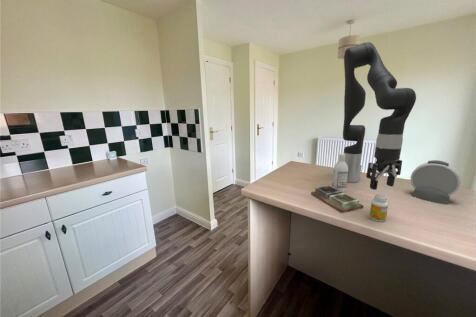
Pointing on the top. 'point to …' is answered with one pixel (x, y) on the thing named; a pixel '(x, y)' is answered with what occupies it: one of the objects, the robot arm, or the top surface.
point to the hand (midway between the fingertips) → (381, 187)
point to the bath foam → (340, 174)
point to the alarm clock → (435, 181)
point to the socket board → (337, 199)
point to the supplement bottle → (379, 208)
